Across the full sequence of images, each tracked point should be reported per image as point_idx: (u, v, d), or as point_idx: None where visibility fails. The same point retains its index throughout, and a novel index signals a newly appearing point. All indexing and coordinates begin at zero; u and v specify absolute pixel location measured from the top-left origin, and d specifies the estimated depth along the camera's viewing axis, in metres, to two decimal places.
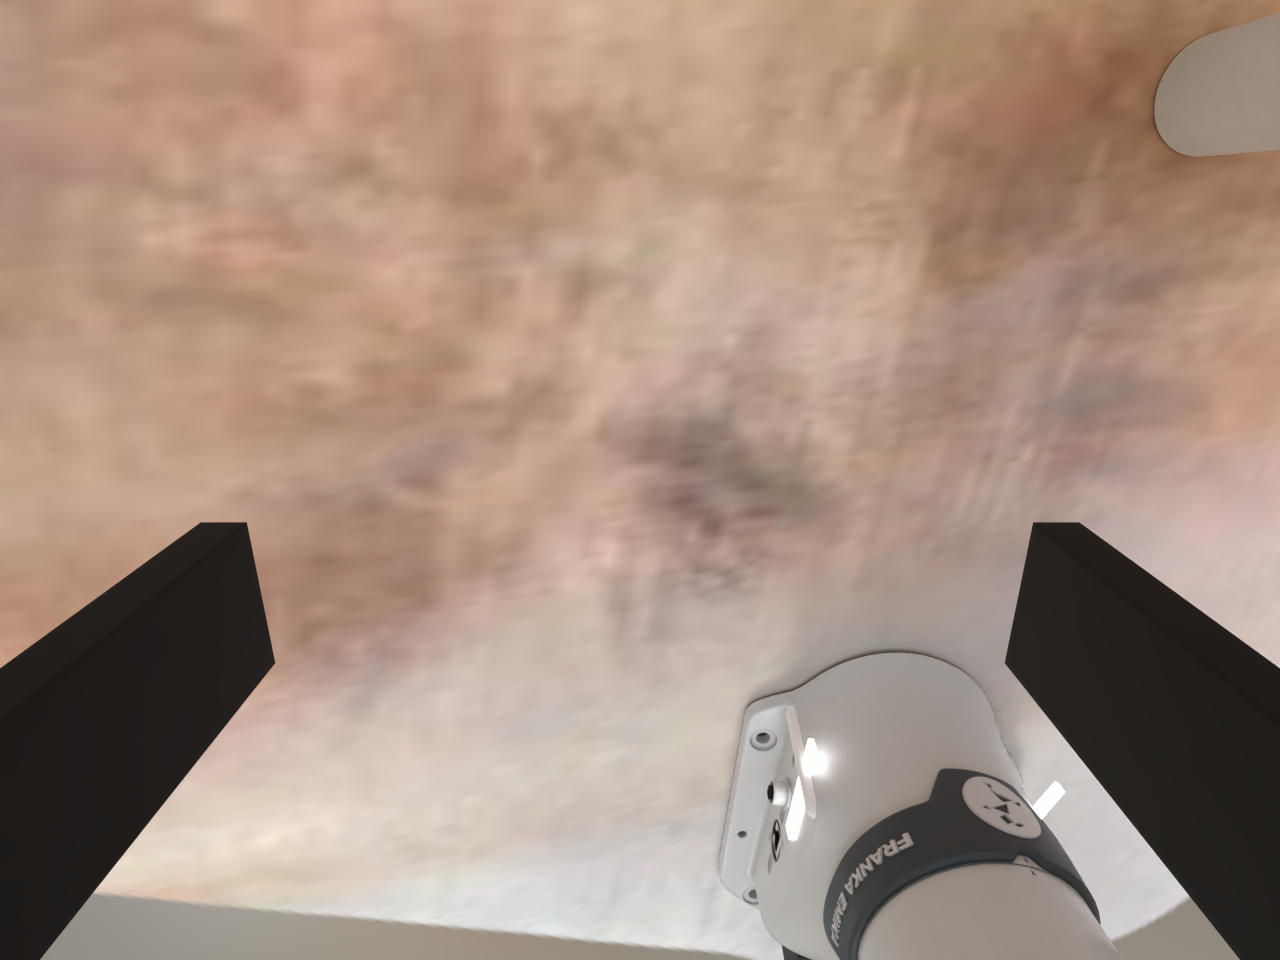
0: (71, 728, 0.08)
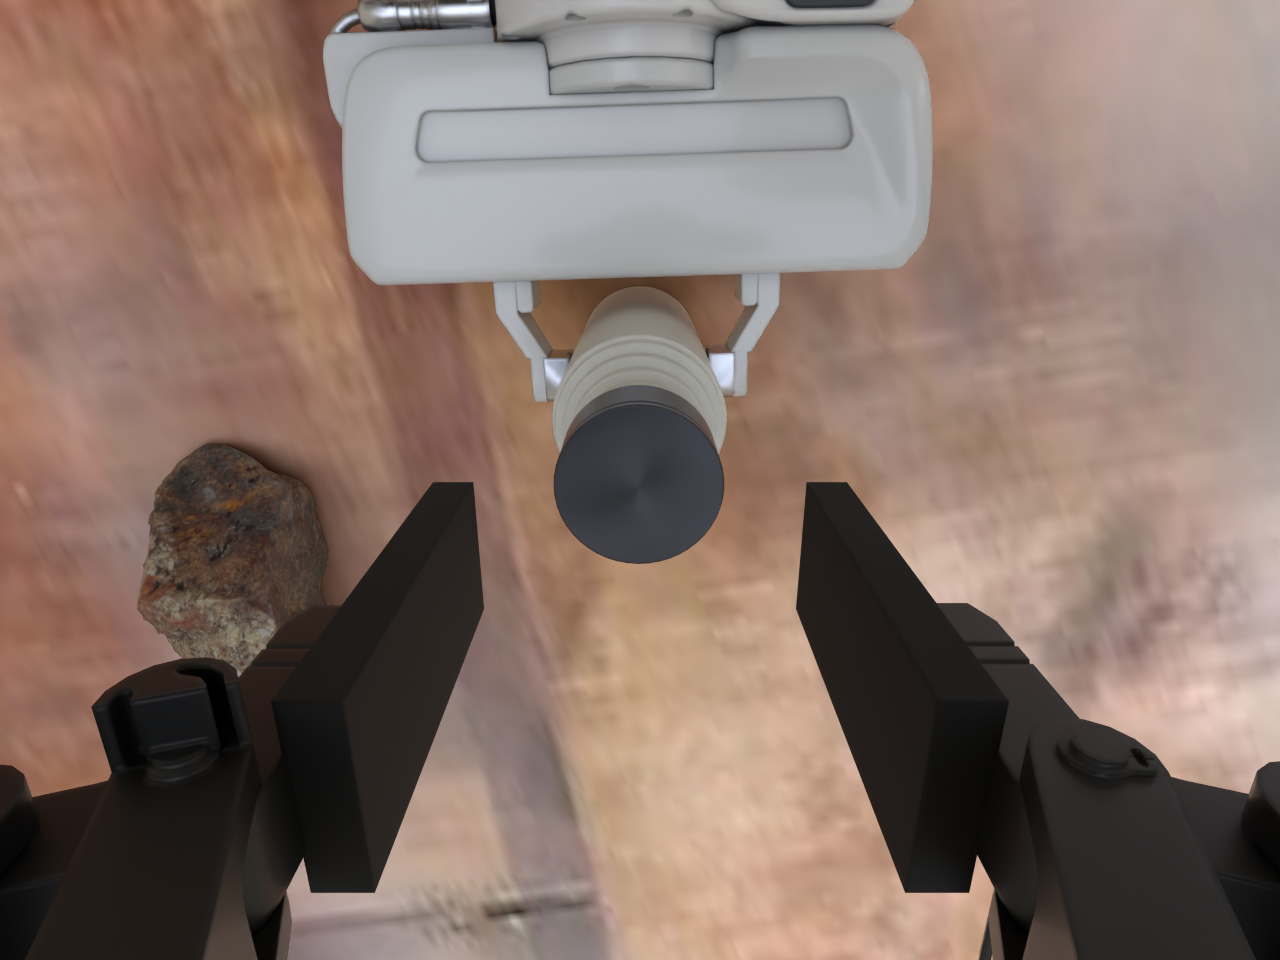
0: (411, 638, 0.10)
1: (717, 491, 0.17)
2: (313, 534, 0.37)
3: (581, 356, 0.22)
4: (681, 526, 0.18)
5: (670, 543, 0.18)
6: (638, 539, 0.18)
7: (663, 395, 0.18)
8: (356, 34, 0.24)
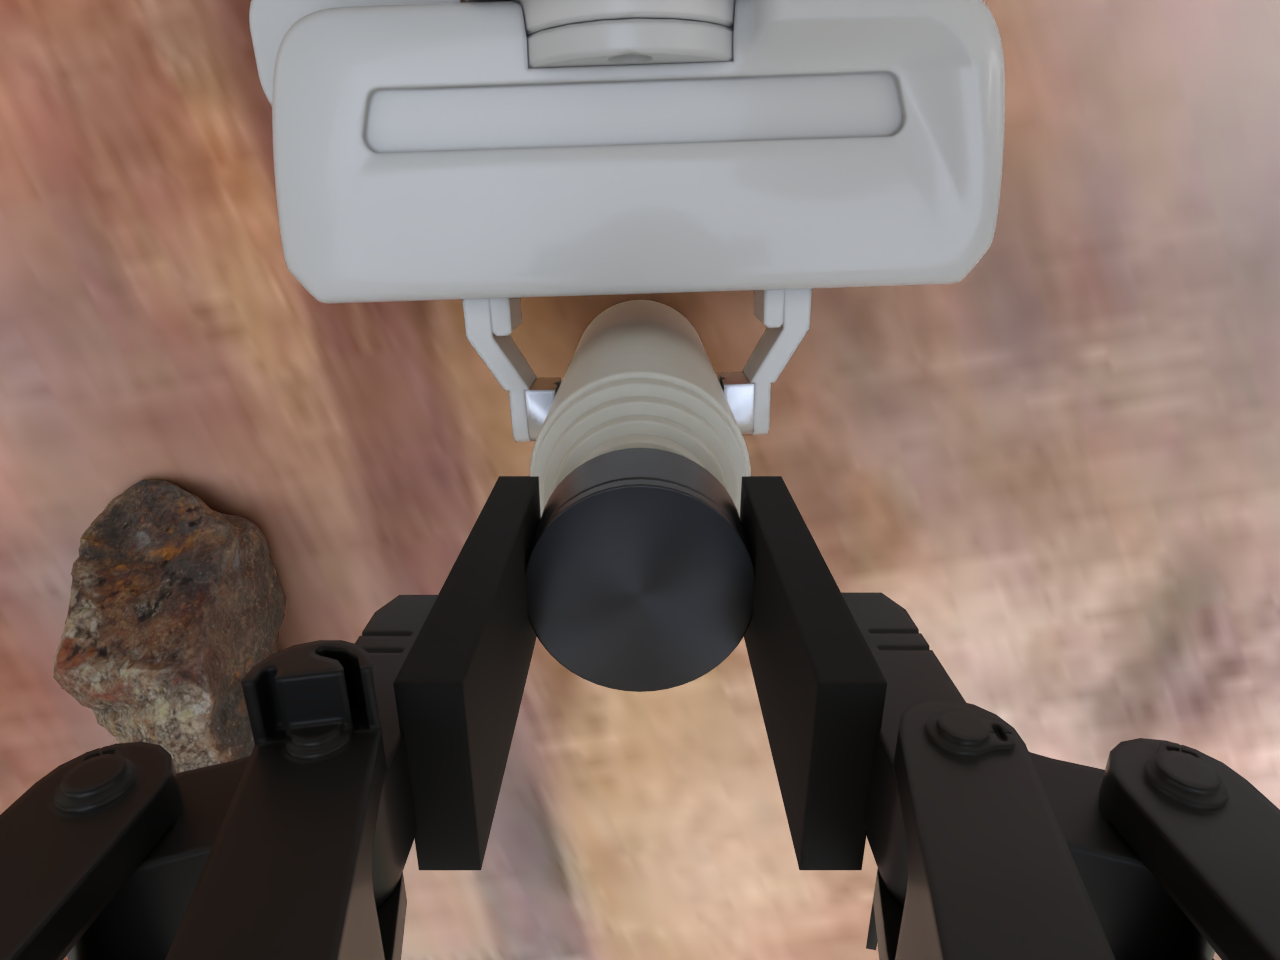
0: (502, 625, 0.10)
1: (747, 599, 0.13)
2: (265, 583, 0.32)
3: (566, 399, 0.17)
4: (697, 644, 0.13)
5: (682, 666, 0.13)
6: (639, 661, 0.13)
7: (673, 465, 0.13)
8: None
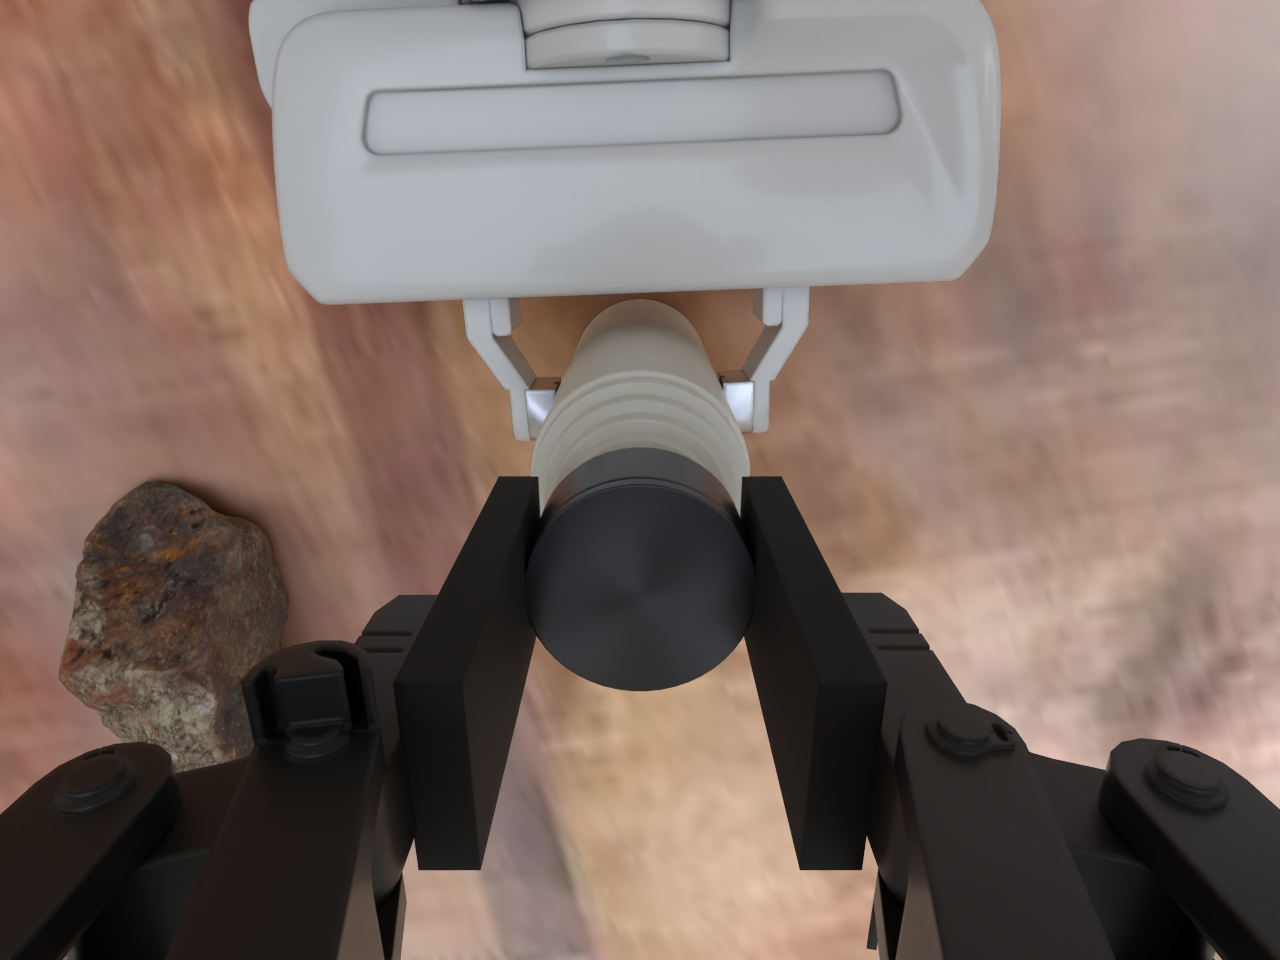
0: (501, 625, 0.10)
1: (570, 514, 0.12)
2: (268, 584, 0.32)
3: (566, 397, 0.17)
4: (644, 517, 0.12)
5: (675, 511, 0.12)
6: (700, 547, 0.12)
7: None
8: None
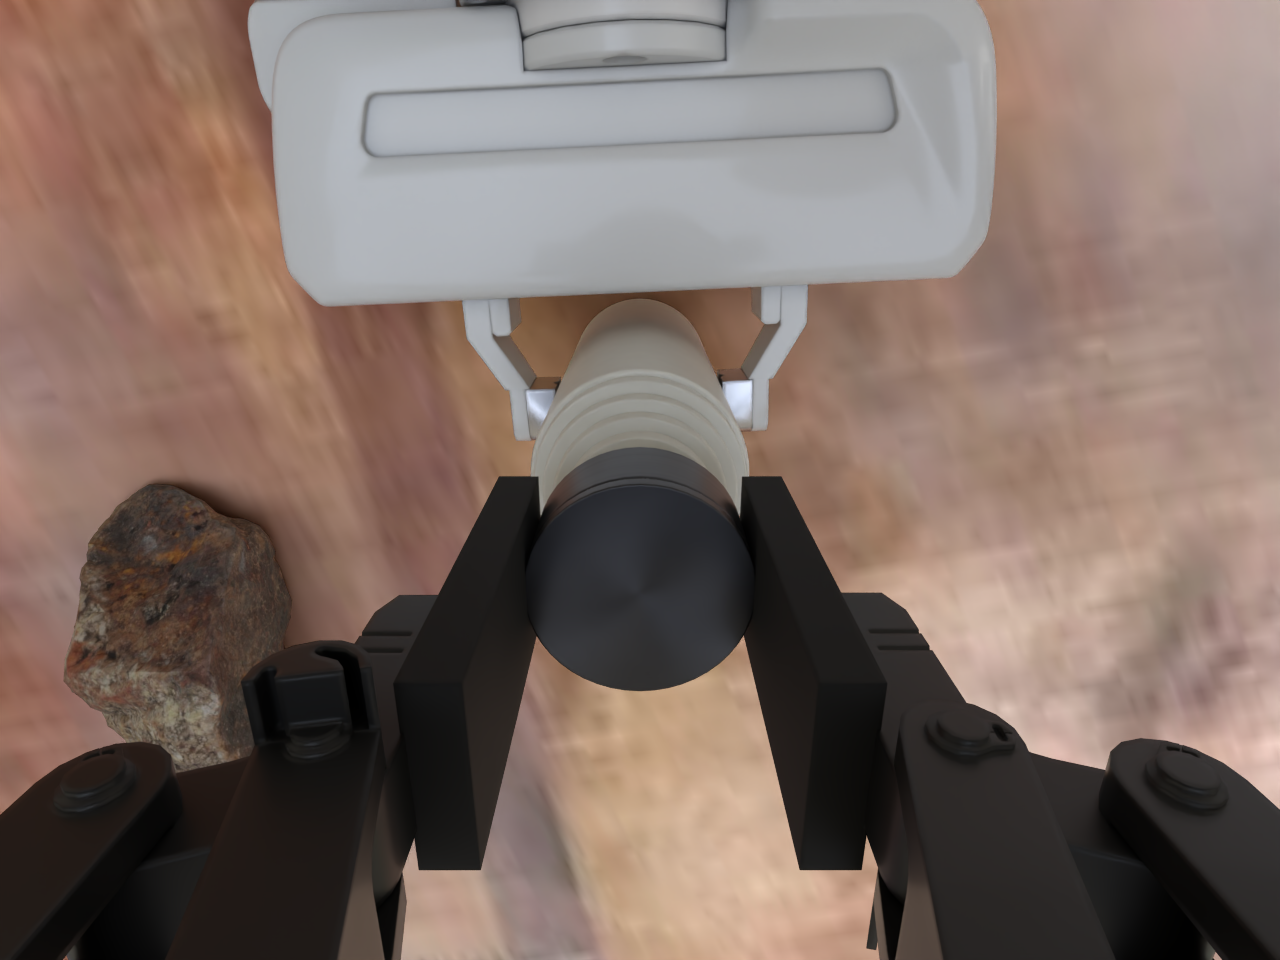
0: (501, 625, 0.10)
1: (621, 682, 0.13)
2: (271, 585, 0.32)
3: (565, 397, 0.17)
4: (576, 638, 0.13)
5: (552, 623, 0.13)
6: (562, 584, 0.13)
7: None
8: (287, 1, 0.20)
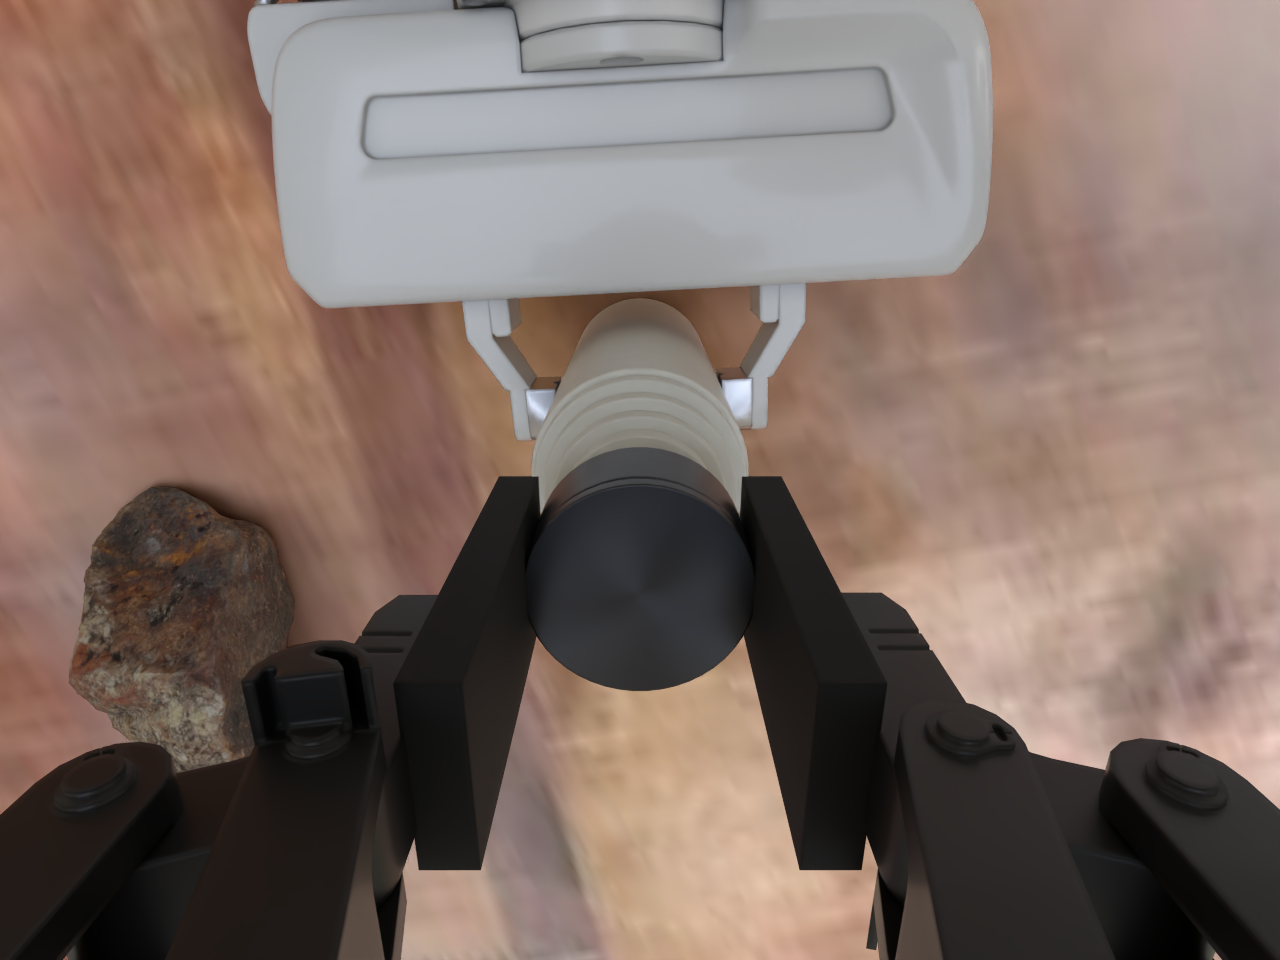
0: (502, 625, 0.10)
1: (734, 541, 0.12)
2: (274, 587, 0.32)
3: (565, 396, 0.17)
4: (721, 606, 0.13)
5: (722, 632, 0.13)
6: (682, 649, 0.13)
7: (606, 464, 0.13)
8: (286, 5, 0.20)
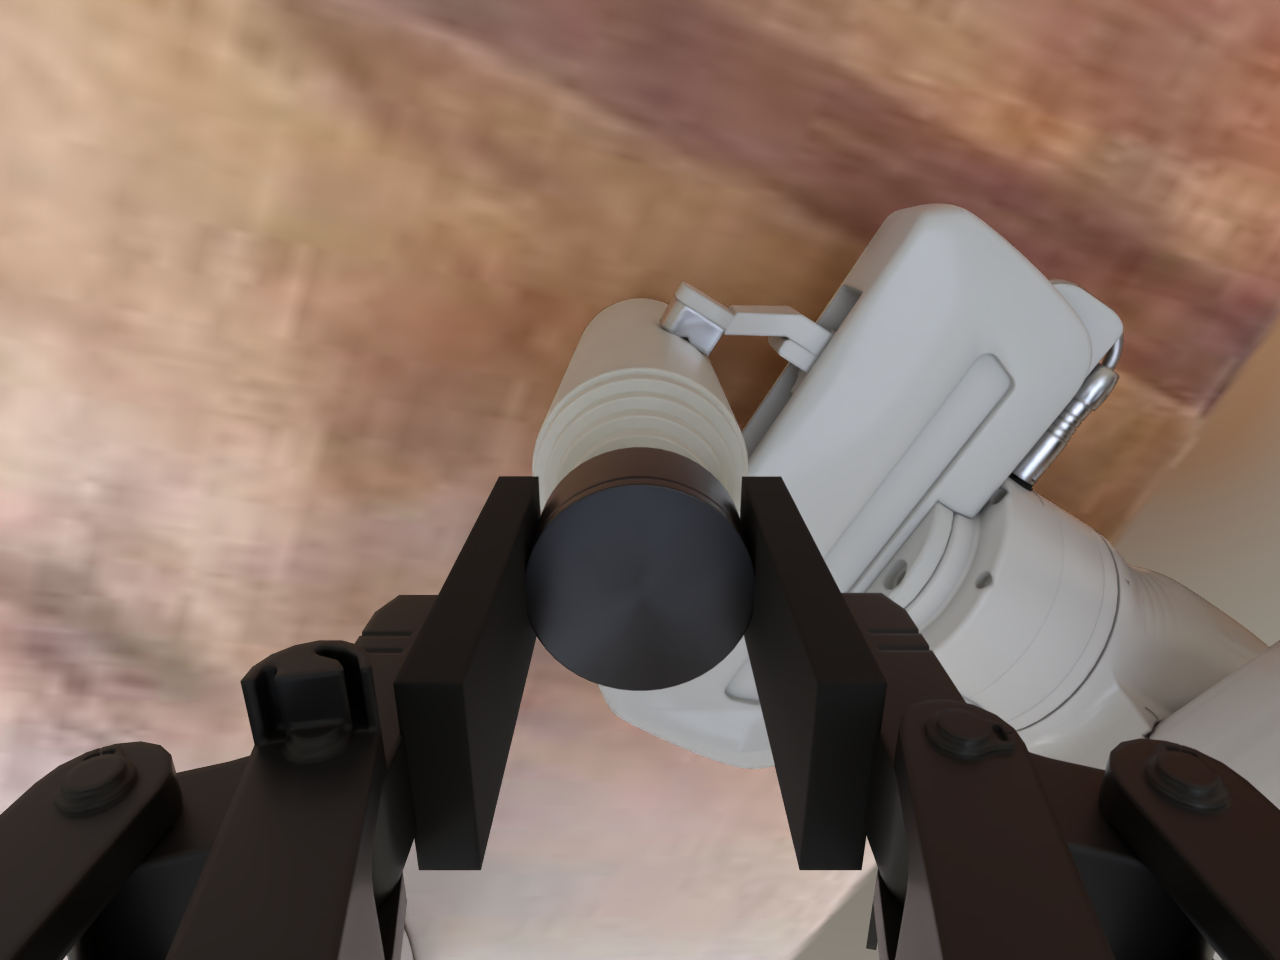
0: (502, 625, 0.10)
1: (735, 542, 0.12)
2: None
3: (747, 460, 0.18)
4: (721, 606, 0.13)
5: (722, 632, 0.13)
6: (682, 649, 0.13)
7: (606, 464, 0.13)
8: (1102, 356, 0.24)
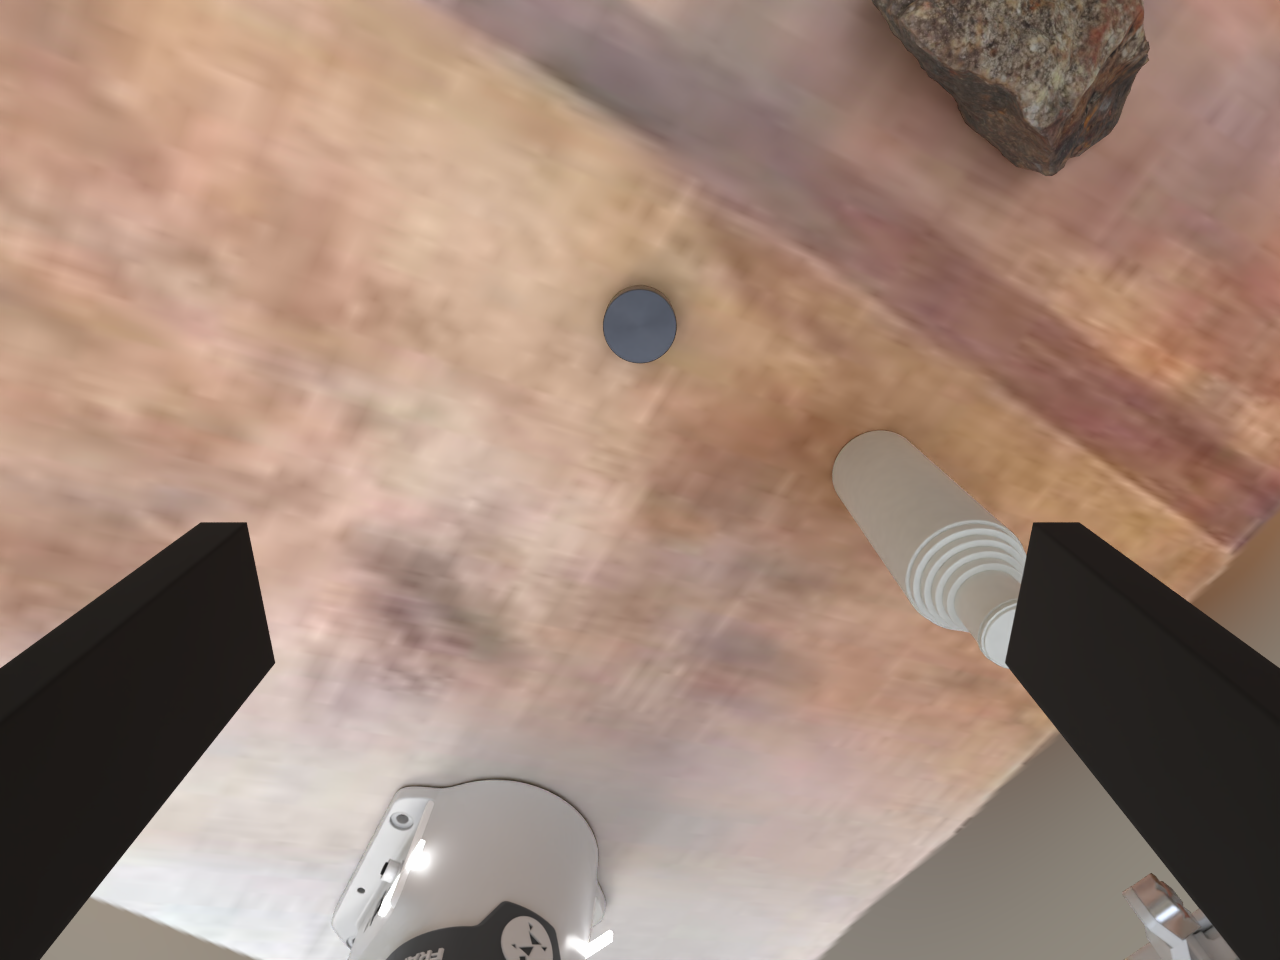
0: (71, 728, 0.08)
1: (669, 308, 0.40)
2: (998, 145, 0.37)
3: None
4: (665, 331, 0.40)
5: (666, 340, 0.41)
6: (653, 347, 0.41)
7: (628, 288, 0.41)
8: None
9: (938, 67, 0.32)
